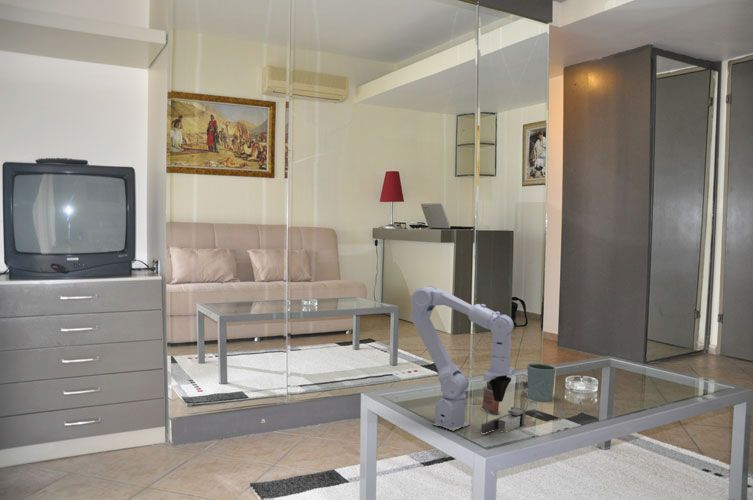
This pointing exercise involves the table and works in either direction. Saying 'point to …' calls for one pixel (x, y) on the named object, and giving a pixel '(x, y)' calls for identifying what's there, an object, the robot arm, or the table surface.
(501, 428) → the bar
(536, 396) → the green plant pot
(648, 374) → the table surface
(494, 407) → the lighter
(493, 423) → the bracket
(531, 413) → the solid state drive
